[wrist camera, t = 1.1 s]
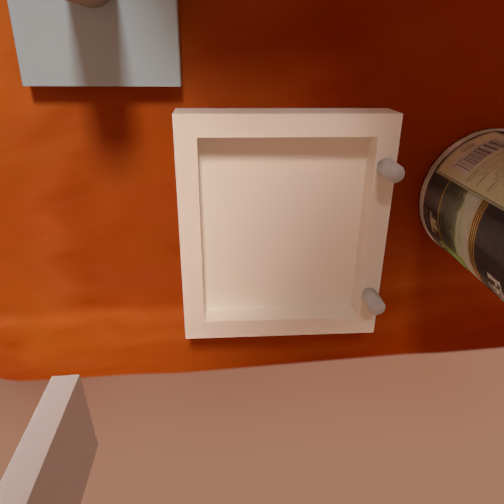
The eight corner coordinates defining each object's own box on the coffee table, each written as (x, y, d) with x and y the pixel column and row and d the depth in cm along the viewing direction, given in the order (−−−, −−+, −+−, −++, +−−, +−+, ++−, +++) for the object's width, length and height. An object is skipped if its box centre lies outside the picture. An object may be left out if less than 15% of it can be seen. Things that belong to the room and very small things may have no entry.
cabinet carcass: (175, 108, 32) (169, 118, 27) (387, 107, 33) (415, 118, 28) (187, 318, 39) (184, 354, 34) (362, 312, 40) (381, 347, 35)
